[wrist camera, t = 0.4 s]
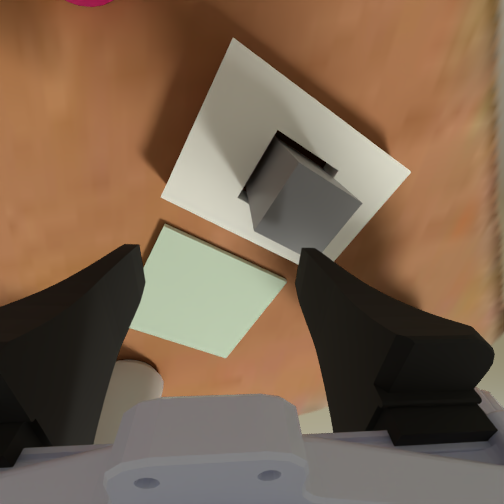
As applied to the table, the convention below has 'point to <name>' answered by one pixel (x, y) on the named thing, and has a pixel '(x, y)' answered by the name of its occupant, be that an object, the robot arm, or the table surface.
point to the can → (126, 395)
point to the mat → (201, 294)
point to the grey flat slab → (256, 142)
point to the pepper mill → (89, 2)
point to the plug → (297, 199)
